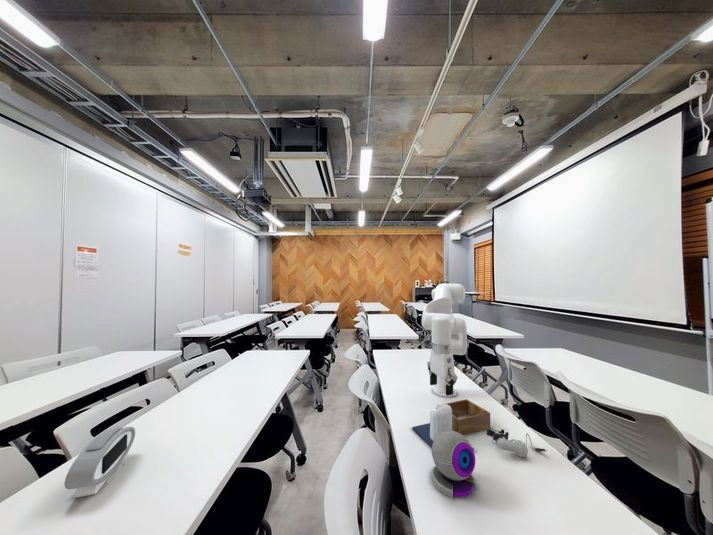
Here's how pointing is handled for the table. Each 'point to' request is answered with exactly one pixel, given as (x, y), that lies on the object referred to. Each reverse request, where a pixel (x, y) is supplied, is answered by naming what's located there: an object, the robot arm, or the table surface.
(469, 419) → the wooden box
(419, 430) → the mat
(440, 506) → the table surface
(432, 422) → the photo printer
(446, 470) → the webcam
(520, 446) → the clip-on lamp
